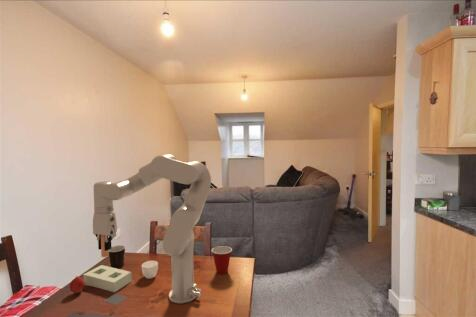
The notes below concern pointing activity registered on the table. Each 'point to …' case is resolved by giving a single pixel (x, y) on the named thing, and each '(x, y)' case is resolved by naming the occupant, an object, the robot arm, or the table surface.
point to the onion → (77, 285)
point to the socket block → (107, 278)
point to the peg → (103, 247)
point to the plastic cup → (221, 258)
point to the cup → (149, 269)
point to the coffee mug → (117, 256)
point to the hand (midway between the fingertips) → (105, 248)
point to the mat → (115, 299)
